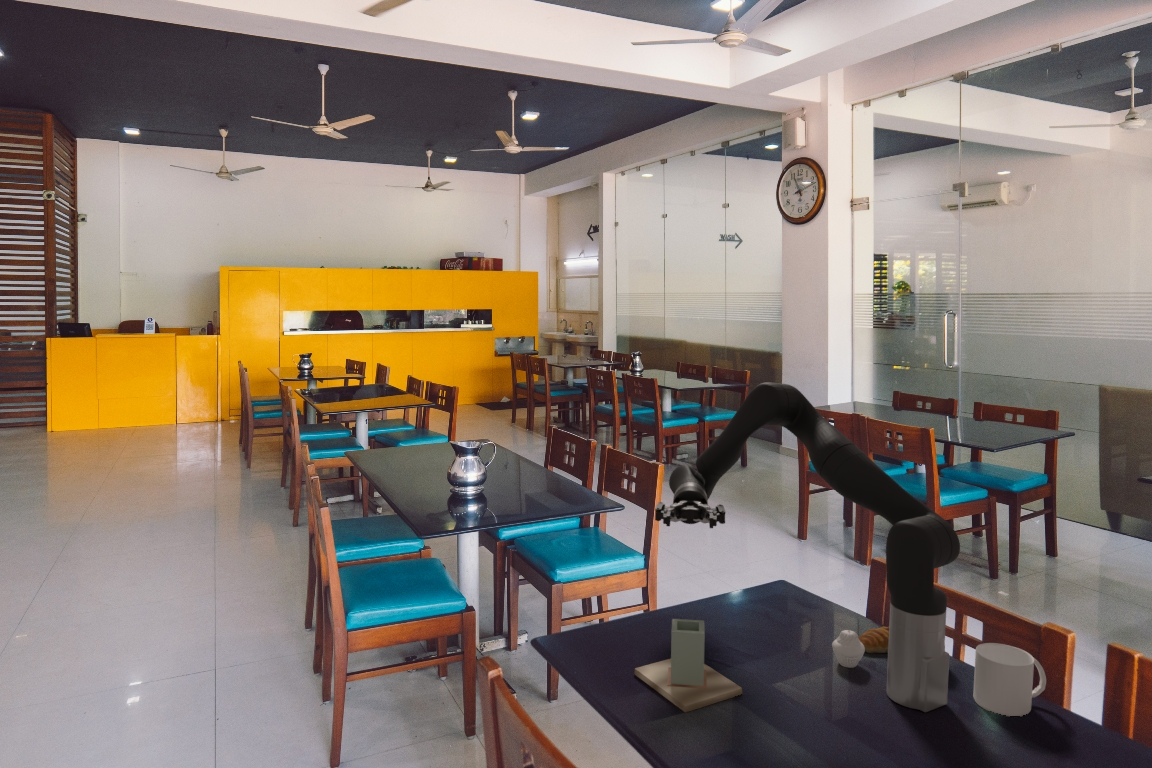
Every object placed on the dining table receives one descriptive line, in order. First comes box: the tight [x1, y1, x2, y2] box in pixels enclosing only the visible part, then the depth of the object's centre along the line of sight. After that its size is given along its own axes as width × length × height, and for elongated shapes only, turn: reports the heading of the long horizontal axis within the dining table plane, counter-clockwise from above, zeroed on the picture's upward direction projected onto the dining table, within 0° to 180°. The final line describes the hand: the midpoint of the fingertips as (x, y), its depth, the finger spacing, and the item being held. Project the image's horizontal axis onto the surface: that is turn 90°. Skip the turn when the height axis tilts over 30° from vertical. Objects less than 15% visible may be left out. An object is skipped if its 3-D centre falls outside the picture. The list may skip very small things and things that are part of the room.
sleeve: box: [670, 618, 706, 686], centre depth 142 cm, size 6×6×10 cm
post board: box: [634, 658, 743, 713], centre depth 143 cm, size 16×13×6 cm
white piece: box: [831, 629, 865, 669], centre depth 151 cm, size 6×6×7 cm
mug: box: [972, 642, 1047, 717], centre depth 135 cm, size 12×9×9 cm
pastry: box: [858, 625, 889, 654], centre depth 159 cm, size 9×7×4 cm
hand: (689, 522), depth 151 cm, fingers open, 8 cm apart
